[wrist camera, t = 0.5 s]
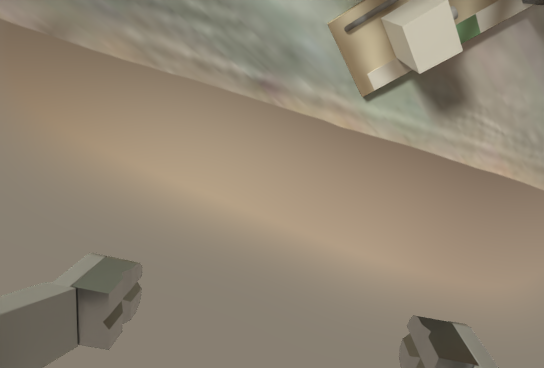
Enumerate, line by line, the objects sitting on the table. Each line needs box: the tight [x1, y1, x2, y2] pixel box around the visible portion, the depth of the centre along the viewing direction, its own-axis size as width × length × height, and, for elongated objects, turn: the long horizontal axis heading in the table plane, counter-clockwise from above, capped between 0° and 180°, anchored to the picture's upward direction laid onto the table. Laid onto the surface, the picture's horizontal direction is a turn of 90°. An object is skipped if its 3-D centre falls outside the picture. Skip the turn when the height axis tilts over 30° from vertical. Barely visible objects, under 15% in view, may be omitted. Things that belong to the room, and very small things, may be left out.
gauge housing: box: [381, 0, 463, 74], centre depth 41 cm, size 7×9×10 cm
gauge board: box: [327, 0, 534, 97], centre depth 44 cm, size 26×12×2 cm, turn 121°
